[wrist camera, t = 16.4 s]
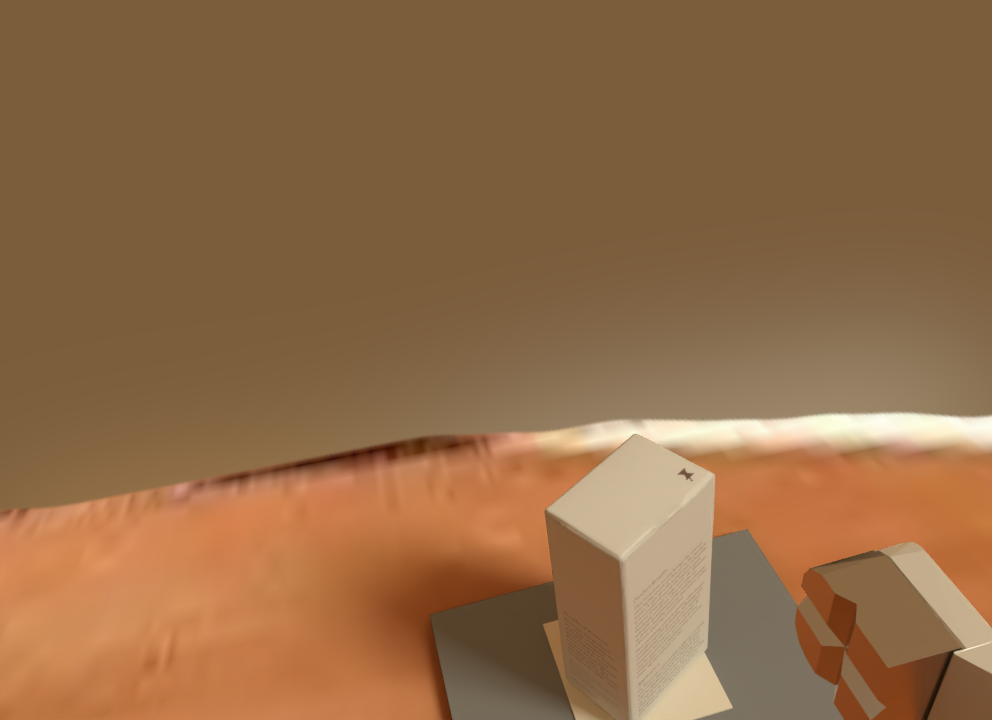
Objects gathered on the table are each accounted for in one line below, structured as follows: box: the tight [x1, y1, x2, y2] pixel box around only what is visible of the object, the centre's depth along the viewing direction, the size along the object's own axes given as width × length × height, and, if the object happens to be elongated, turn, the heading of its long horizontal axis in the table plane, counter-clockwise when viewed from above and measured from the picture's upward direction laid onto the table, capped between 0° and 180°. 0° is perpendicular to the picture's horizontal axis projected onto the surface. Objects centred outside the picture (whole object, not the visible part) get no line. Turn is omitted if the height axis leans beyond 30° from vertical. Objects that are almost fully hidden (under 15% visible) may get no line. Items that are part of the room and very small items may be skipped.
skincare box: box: [545, 434, 715, 720], centre depth 38 cm, size 6×4×12 cm
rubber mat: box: [430, 529, 844, 720], centre depth 42 cm, size 18×12×1 cm, turn 104°
